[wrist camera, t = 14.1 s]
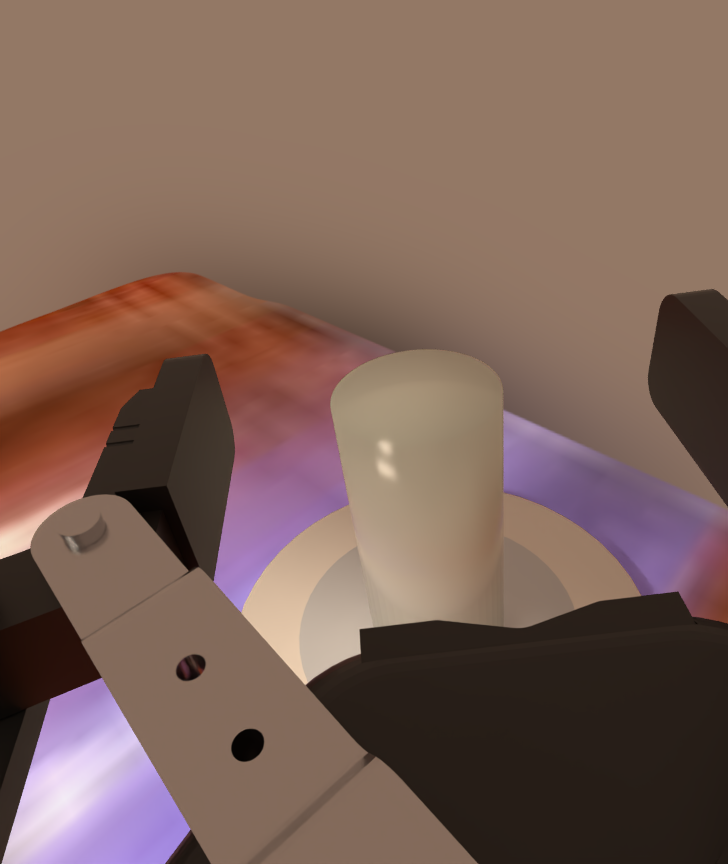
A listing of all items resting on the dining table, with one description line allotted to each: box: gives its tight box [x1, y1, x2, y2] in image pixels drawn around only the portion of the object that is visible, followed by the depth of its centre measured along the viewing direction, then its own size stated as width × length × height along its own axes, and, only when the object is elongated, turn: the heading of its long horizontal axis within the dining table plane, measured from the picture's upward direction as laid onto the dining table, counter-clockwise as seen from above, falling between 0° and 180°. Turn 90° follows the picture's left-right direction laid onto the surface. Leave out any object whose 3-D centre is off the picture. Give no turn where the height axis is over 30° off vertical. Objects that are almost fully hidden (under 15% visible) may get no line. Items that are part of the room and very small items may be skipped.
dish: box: [242, 493, 641, 685], centre depth 29 cm, size 18×18×1 cm
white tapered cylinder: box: [330, 349, 504, 627], centre depth 25 cm, size 6×6×12 cm
